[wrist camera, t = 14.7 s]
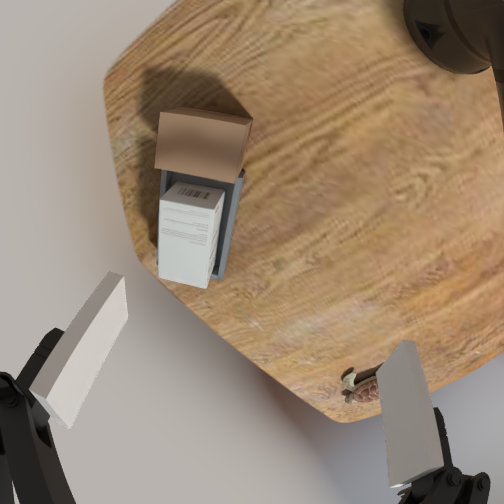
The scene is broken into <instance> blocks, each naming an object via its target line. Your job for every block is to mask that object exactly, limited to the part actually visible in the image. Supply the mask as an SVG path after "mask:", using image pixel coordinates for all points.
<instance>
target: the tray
mask: <svg viewBox="0 0 504 504" xmlns="http://www.w3.org/2000/svg"><path fill="white" fill-rule="evenodd" d="M244 177H245V171H241V172H240V174H239V176H238V178H237V180H236V182H235V184H233V183H228V182H224V181H219V180H214V179H209V178H204V177H199V176H194V175H189V174H184V173H179V172H174V171H168V170H163V169H162V171H161V183H160V196H159V204H160V199H161V197H162V196H163V195H164V194H165V193H166V192H167V191H168V190H169V189H170V188H171V187H172V186H173V185H174V184H175V183H176V182H178V181H180V182H184V183H189V184H194V185H199V186H205V187H211V188H216V189H224V190H226V194H225V201H224V207H223V213H222V219H221V225H220V232H219V240H218V247H217V254H216V261H215V264H214V267H213V270H212V273H211V276H210V278H213V279H217V280H221V281H222V280H223V277H224V274H225V270H226V266H227V261H228V255H229V250H230V245H231V240H232V235H233V230H234V225H235V220H236V215H237V210H238V205H239V201H240V196H241V191H242V186H243V181H244ZM158 239H159V212H158V233H157V265H158Z"/></svg>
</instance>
